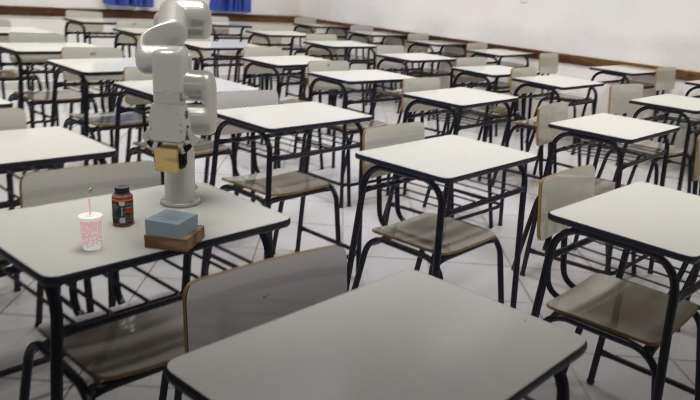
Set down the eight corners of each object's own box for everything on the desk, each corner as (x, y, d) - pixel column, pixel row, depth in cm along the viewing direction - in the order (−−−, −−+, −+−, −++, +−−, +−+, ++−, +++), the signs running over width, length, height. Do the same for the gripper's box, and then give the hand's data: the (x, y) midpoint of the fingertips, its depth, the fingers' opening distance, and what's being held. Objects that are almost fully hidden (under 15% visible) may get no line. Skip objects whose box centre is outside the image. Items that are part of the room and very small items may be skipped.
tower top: (166, 222, 194) (165, 208, 192) (198, 227, 191) (197, 213, 189) (145, 233, 184) (144, 219, 183) (178, 239, 182) (177, 224, 180)
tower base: (164, 234, 196) (163, 221, 195) (204, 239, 194) (204, 225, 193) (144, 249, 184) (144, 235, 183) (187, 254, 182) (186, 240, 181)
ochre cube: (165, 165, 186) (164, 143, 184) (186, 167, 185) (185, 145, 183) (154, 170, 180) (154, 148, 178) (176, 173, 179) (175, 150, 177)
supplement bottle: (127, 228, 198) (125, 190, 195) (108, 225, 199) (106, 187, 196) (138, 221, 203) (136, 184, 200) (119, 219, 205) (117, 182, 201)
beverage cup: (95, 241, 186) (92, 192, 182) (109, 247, 183) (106, 196, 179) (75, 247, 182) (71, 196, 178) (89, 253, 178) (85, 201, 174)
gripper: (206, 98, 179) (207, 166, 184) (143, 93, 182) (146, 160, 187) (194, 103, 172) (195, 173, 177) (130, 97, 175) (133, 167, 180)
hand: (170, 165), depth 182 cm, fingers closed on ochre cube, 6 cm apart
